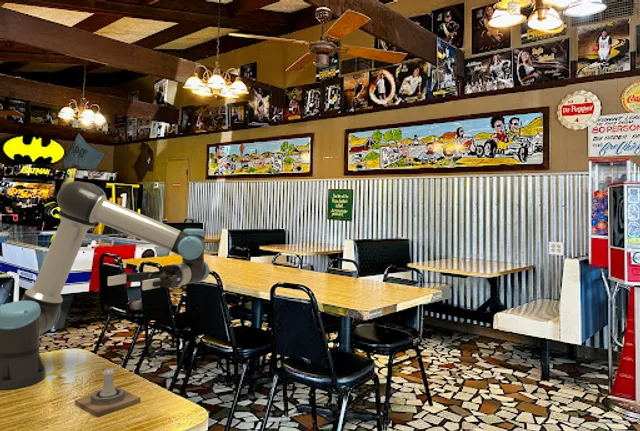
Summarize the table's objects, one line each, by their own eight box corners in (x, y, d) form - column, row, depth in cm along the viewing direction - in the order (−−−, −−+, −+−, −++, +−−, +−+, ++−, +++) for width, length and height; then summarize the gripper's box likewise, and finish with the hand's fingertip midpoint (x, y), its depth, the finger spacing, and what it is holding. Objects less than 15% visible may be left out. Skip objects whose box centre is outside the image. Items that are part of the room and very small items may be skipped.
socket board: (75, 404, 123) (75, 394, 123) (117, 391, 133) (117, 381, 133) (97, 417, 116) (97, 406, 116) (140, 402, 126) (140, 392, 126)
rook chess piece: (109, 403, 122) (110, 373, 122) (95, 401, 123) (95, 371, 123) (120, 396, 126) (121, 367, 126) (106, 394, 127) (106, 366, 127)
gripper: (204, 289, 149) (158, 300, 130) (145, 283, 159) (94, 291, 139) (205, 267, 149) (159, 274, 130) (146, 261, 159) (95, 267, 139)
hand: (125, 283), depth 134 cm, fingers open, 13 cm apart
